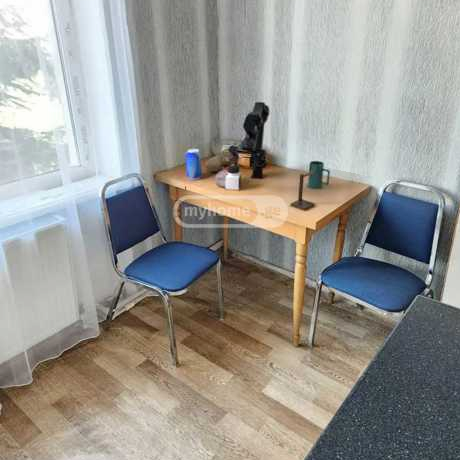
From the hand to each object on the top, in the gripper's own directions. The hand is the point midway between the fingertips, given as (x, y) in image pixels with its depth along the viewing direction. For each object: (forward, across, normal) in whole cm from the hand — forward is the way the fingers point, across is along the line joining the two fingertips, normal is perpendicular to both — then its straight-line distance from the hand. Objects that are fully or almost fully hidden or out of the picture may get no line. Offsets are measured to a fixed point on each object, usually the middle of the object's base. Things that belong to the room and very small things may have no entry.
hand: (244, 168), depth 192 cm
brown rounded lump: (-6, -30, +37) cm, 48 cm away
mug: (-3, +33, +29) cm, 44 cm away
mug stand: (+10, +32, +10) cm, 35 cm away
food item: (+6, -14, +18) cm, 24 cm away
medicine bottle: (+7, -7, +15) cm, 18 cm away
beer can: (+4, -35, +21) cm, 41 cm away
